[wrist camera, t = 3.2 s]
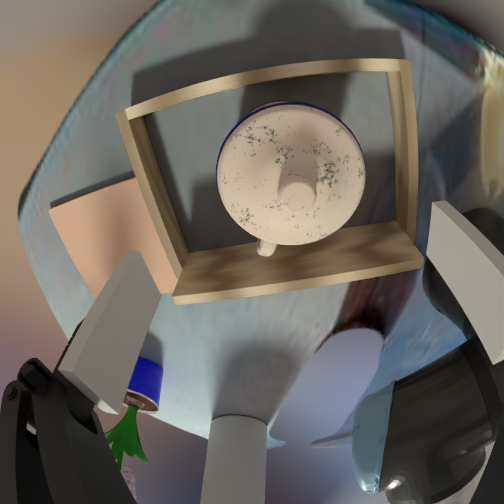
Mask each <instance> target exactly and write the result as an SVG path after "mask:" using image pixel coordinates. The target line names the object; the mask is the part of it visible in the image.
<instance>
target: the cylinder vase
mask: <svg viewBox="0 0 504 504" xmlns="http://www.w3.org/2000/svg"><path fill="white" fill-rule="evenodd" d="M266 443H267V427H266V425H265V423H263V422H262V421H260V420H258V419H255V418H252V417H247V416H239V415H228V416H221V417H218V418H215V419H214V420H213V421H212V422H211V427H210V434H209V442H208V449H207V456H206V464H205V472H204V479H203V487H202V495H201V503H200V504H264V502H265V475H266Z"/></svg>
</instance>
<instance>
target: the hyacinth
mask: <svg viewBox="0 0 504 504" xmlns="http://www.w3.org/2000/svg"><path fill="white" fill-rule="evenodd" d="M162 377H163V370H162V369H161V367H160V366H159V365H157V364H156V363H154V362H153V361H151V360H148V359H145V358H141V357H138V359H137V362H136V365H135V368H134V371H133V374H132V376H131V379H130V382H129V385H128V388H127V391H126V395H125V398H124V401H123V404H122V405H124V406H126V407H128V410H127V413H126V414H125V416H124V417H123V418H122V420H121V421H120V422H119V423H118V424H117V425H116V426H115V427H114V428H113V429H111V430H110V431H108V432H106V433H104V434H105V437H106V439H107V442H108V444H110V443H111V442H113V441H114V442H113V445H112V448H111V452H112V454H113V456H114V459H117V458H118V459H117V465H118V467H119V469H120V472H121V474H122V476H123V478H124V480H125V482H126V484H128V485H129V486H128V485H127V486H128V488H129V489H130V491H131V493H132V495H133V497H134V496H135V498H134V499H135V500H136V496H137V494H136V493H135V490H136V489H135V486H134V482H135V481H136V480H135V479H134V477H135V476H134V475H133V472H132V471H133V470H131V469H129V470H128V467H127V466H126V468H124V467H123V468H124V471H123V470H121V463H122V458H123V452H124V451H125V452H126V453H127V454H128V455H129V456H133V455H135V454H136V455H137V456H138V457H139V458H140V459H141V460H142V461H144V462H146V463H148V460H147V459H146V457H145V455H144V452H143V450H142V447H141V443H140V439H139V436H138V431H137V424H136V414H137V411H138V412H142V413H156V412H158V411H159V400H160V391H161V384H162ZM129 478H130V479H129ZM133 479H134V480H135V481H134V480H133ZM131 480H132V481H131ZM130 486H131V487H132V488H133V489H132V490H131V487H130Z"/></svg>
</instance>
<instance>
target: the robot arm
mask: <svg viewBox="0 0 504 504" xmlns="http://www.w3.org/2000/svg"><path fill="white" fill-rule="evenodd" d="M426 255H427V256H428V258H427V260H426V263H425V267H424V271H423V288H424V291H425V293H426V295H427V297H428V298H429V300H430V302H431V304H432V305H433V307H434V308H435V309H436V310H437V311H439V312H440V313H442V314H444V315H445V316H446V317H447V318H448V319H450V320H451V321H452V322H453V323H454V324H455V325H456V326H457V327H459V328H460V329H461V330H462V332H463V333H464V335H465V337H466V339H467V341H466V342H465V343H463V344H461V345H460V346H458V347H456V348H455V349H453V350H452V351H450V352H448V353H447V354H445V355H444V356H442V357H440V358H439V359H437V360H435V361H433V362H432V363H430V364H428V365H426V366H425V367H423V368H421V369H419V370H417V371H415V372H414V373H412V374H410V375H408V376H406V377H404V378H402V379H400V380H398V381H396V380H394V381H392V382H391V383H390V384H389V385H388V386H386V387H384V388H382V389H380V390H378V391H376V392H374V393H372V394H370V395H368V396H367V397H365V398H364V399H363V400H362V401H361V402H360V404H359V405H358V407H357V409H356V411H355V414H354V419H353V424H352V439H351V442H352V459H353V466H354V471H355V475H356V479H357V482H358V484H359V486H360V487H361V489H362V490H364V491H365V492H367V493H375V494H377V493H379V492H381V491H382V490H384V491H385V492H386V496H387V499H388V501H389V503H390V504H504V219H503V218H502V217H501V216H500V215H498V214H497V213H496V212H494V211H493V210H490V209H485V208H481V209H475V210H472V211H469V212H467V213H465V214H463V215H462V214H461V213H460V212H458V211H457V210H456V209H455V208H454V207H453V206H452V205H450V204H449V203H448V202H447V201H446V200H444V201H436V202H432V210H431V221H430V230H429V238H428V245H427V252H426ZM161 296H162V295H161V293H160V291H159V290H158V288H157V286H156V284H155V282H154V280H153V278H152V276H151V274H150V272H149V270H148V268H147V266H146V264H145V262H144V259H143V257H142V255H141V253H140V251H139V250H137V251H132V252H127V253H125V255H124V256H123V258H122V259H121V261H120V262H119V264H118V265H117V267H116V268H115V270H114V271H113V273H112V274H111V276H110V277H109V279H108V281H107V282H106V284H105V285H104V287H103V289H102V290H101V292H100V293H99V295H98V297H97V298H96V300H95V302H94V303H93V305H92V307H91V308H90V310H89V312H88V314H87V315H86V317H85V318H84V319H83V320H82V321H81V322H80V324H79V325H78V326H77V327H76V329H75V331H74V333H73V335H72V337H71V338H70V340H69V342H68V345H67V346H66V348H65V350H64V352H63V353H62V356H61V357H60V359H59V361H58V363H57V365H56V367H55V369H54V371H53V373H52V372H51V371H50V370H49V369H48V368H47V367H46V366H45V365H44V364H43V363H42V362H41V361H40V360H39V359H37V358H32V359H29V360H28V361H27V362H25V363H24V364H23V366H22V367H21V368H20V370H19V373H18V376H17V380H16V381H12V382H11V383H9V384H8V385H7V386H6V389H5V390H4V394H3V398H2V403H1V411H0V504H137V503H136V501H135V499H134V497H133V495H132V493H131V491H130V490H129V488H128V486H127V484H126V482H125V480H124V478H123V476H122V474H121V472H120V469H119V467H118V465H117V463H116V461H115V459H114V456H113V454H112V452H111V449H110V447H109V444H108V442H107V439H106V437H105V434H104V432H103V429H102V426H101V424H100V421H99V418H98V415H97V414H96V412H95V411H94V410H93V408H94V405H96V406H98V407H99V408H100V409H101V410H102V411H104V412H108V413H113V414H120V410H121V407H122V404H123V401H124V398H125V395H126V391H127V388H128V385H129V382H130V379H131V376H132V374H133V371H134V368H135V365H136V362H137V359H138V356H139V354H140V351H141V348H142V345H143V343H144V340H145V337H146V334H147V332H148V329H149V327H150V324H151V321H152V319H153V316H154V314H155V311H156V308H157V306H158V303H159V301H160V298H161ZM27 423H28V424H29V425H31V426H32V427H33V428H35V429H36V435H34V434H32V433H31V432H30V431H28V430H27ZM493 441H495V443H494V446H493V449H492V452H491V455H490V458H489V460H488V463H487V465H486V468H485V470H484V473H483V475H482V477H481V479H480V482H479V484H478V481H477V476H478V475H479V474H480V472H481V471H482V469H483V467H484V464H485V461H486V451H485V446H487V445H489V444H491V443H492V442H493Z"/></svg>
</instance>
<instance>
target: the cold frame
mask: <svg viewBox="0 0 504 504" xmlns="http://www.w3.org/2000/svg"><path fill="white" fill-rule="evenodd" d="M346 72H386V76H387V83H388V89H389V96H390V104H391V113H392V123H393V134H394V149H395V173H396V212H395V220H394V221H387V222H380V223H374V224H367V225H361V226H354V227H347V228H341V229H338V230H336V231H335V232H333V233H332V234H330V235H328V236H327V237H325V238H322V239H320V240H317V241H315V242H311V243H307V244H301V245H281V244H277V247H276V249H275V251H274V253H273V254H272V255H271V256H268V257H267V256H262V255H259V254H258V253H257V242H253V243H246V244H240V245H234V246H228V247H222V248H216V249H210V250H204V251H198V252H192V253H189V251H188V249H187V246H186V244H185V241H184V238H183V236H182V233H181V230H180V228H179V225H178V222H177V219H176V217H175V214H174V211H173V208H172V205H171V203H170V200H169V197H168V194H167V191H166V188H165V185H164V182H163V179H162V176H161V173H160V170H159V167H158V164H157V161H156V158H155V155H154V152H153V149H152V145H151V142H150V139H149V136H148V132H147V129H146V126H145V122H144V119H143V115H146V114H149V113H151V112H154V111H157V110H160V109H163V108H166V107H169V106H172V105H175V104H178V103H181V102H184V101H188V100H191V99H195V98H198V97H202V96H205V95H209V94H213V93H217V92H221V91H225V90H229V89H233V88H238V87H242V86H247V85H252V84H257V83H262V82H268V81H274V80H280V79H287V78H294V77H301V76H310V75H320V74H331V73H346ZM115 115H116V118H117V121H118V125H119V128H120V131H121V134H122V138H123V141H124V144H125V147H126V150H127V153H128V156H129V159H130V162H131V165H132V168H133V171H134V174H135V176H136V179H137V182H138V185H139V187H140V190H141V193H142V196H143V198H144V201H145V204H146V206H147V209H148V211H149V214H150V217H151V219H152V222H153V224H154V227H155V229H156V232H157V234H158V236H159V239H160V241H161V244H162V246H163V248H164V251H165V253H166V255H167V258H168V260H169V262H170V265H171V267H172V269H173V271H174V274H175V276H176V278H177V279H178V282H177V284H176V287H175V289H174V292H173V295H172V298H173V300H174V302H175V304H176V305H181V304H191V303H200V302H209V301H218V300H227V299H235V298H243V297H251V296H258V295H266V294H273V293H280V292H287V291H294V290H300V289H307V288H314V287H320V286H326V285H332V284H338V283H344V282H350V281H356V280H361V279H367V278H373V277H378V276H383V275H389V274H394V273H399V272H404V271H409V270H414V269H419V268H423V263H424V257H423V256H422V254H421V253H420V252H419V250H418V249H417V248H416V246H415V245H414V244H413V242H415V231H416V219H417V202H418V138H417V122H416V110H415V100H414V92H413V84H412V77H411V71H410V65H409V60H404V59H337V60H323V61H312V62H302V63H294V64H287V65H280V66H274V67H268V68H262V69H256V70H251V71H246V72H242V73H237V74H233V75H228V76H224V77H220V78H216V79H212V80H209V81H205V82H201V83H198V84H194V85H191V86H188V87H185V88H181V89H178V90H175V91H172V92H169V93H166V94H163V95H161V96H158V97H155V98H152V99H150V100H147V101H144V102H142V103H139V104H137V105H134V106H132V107H129V108H127V109H125V110H122V111H120V112H118V113H116V114H115Z"/></svg>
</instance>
